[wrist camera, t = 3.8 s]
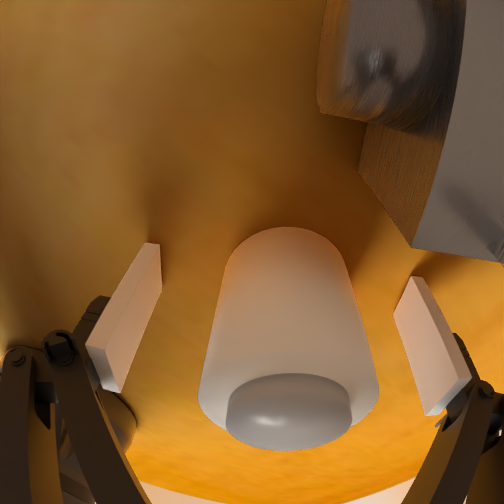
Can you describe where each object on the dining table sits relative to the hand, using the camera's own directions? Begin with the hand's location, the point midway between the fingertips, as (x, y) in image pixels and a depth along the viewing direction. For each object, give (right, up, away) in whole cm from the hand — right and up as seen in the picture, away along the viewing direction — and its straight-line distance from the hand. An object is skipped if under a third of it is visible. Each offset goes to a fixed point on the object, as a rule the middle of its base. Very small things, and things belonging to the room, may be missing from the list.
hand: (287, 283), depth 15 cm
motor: (+8, +8, -6) cm, 13 cm away
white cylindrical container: (0, 0, 0) cm, 0 cm away
